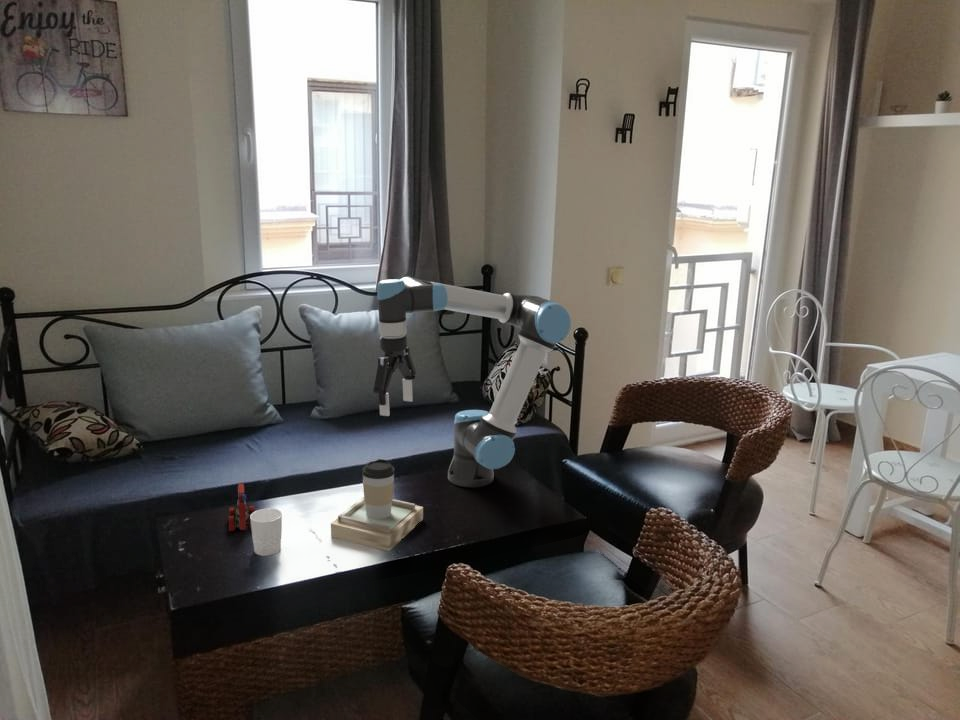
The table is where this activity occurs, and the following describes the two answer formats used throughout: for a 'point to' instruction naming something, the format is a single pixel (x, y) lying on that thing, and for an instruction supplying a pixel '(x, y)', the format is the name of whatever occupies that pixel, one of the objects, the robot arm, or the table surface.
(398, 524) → the tray
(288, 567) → the table surface
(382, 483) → the coffee cup
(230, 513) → the toy fire truck
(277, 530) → the white cup
